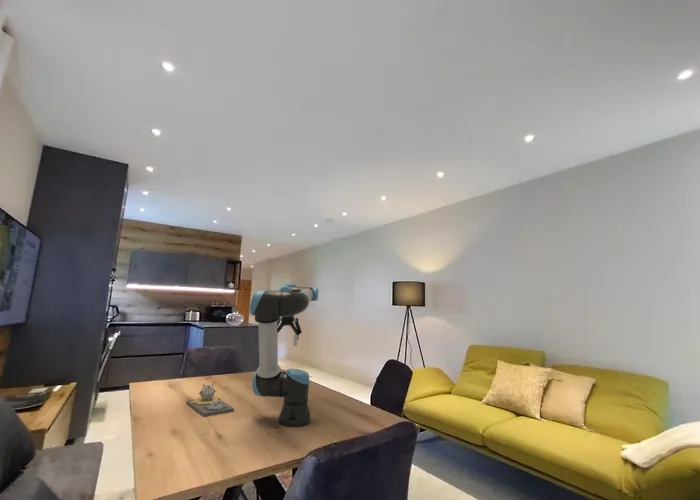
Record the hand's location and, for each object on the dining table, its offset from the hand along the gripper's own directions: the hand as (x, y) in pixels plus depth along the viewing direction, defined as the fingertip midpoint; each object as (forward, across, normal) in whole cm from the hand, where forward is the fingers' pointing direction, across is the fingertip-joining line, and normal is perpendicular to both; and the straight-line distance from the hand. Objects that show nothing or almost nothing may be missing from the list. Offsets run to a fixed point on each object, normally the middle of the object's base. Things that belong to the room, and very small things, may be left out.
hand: (285, 346), depth 195 cm
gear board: (+31, +37, -10) cm, 49 cm away
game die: (+28, +37, -15) cm, 49 cm away
